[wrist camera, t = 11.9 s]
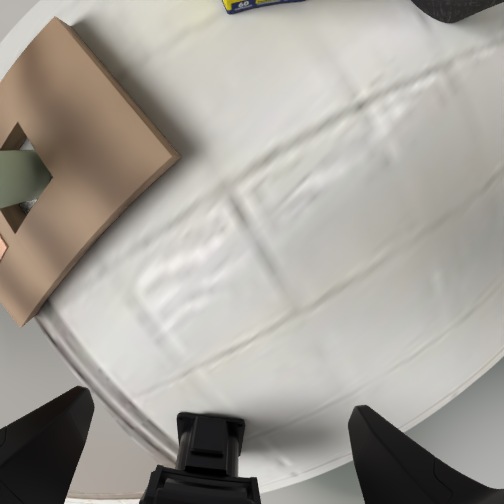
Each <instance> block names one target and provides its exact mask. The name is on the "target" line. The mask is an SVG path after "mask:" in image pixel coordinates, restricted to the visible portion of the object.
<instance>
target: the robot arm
mask: <svg viewBox="0 0 504 504" xmlns="http://www.w3.org/2000/svg"><path fill="white" fill-rule="evenodd" d="M93 413H94V403H93V399H92V396H91V393H90V391H89V389H88V388H86V387H82V386H76V387H74V388H72V389H71V390H69V391H67V392H66V393H64V394H62V395H60V396H59V397H57V398H55V399H53V400H52V401H50V402H48V403H46V404H45V405H43V406H41V407H39V408H38V409H36V410H34V411H32V412H30V413H29V414H27V415H25V416H23V417H21V418H20V419H18V420H16V421H14V422H13V423H11V424H9V425H7V426H5V427H3V428H2V429H0V504H64V502H65V499H66V496H67V493H68V490H69V487H70V484H71V481H72V478H73V475H74V472H75V470H76V467H77V464H78V462H79V459H80V456H81V453H82V451H83V448H84V446H85V442H86V439H87V435H88V431H89V427H90V423H91V420H92V416H93ZM177 429H178V439H179V451H178V456H177V462H176V467H175V469H173V468H167V467H164V466H162V465H157V467H156V470H155V471H153V472H151V476H150V480H149V484H148V487H147V489H146V490H145V492H144V494H143V496H142V498H141V499H140V501H139V504H261V500H260V494H259V488H258V482H257V477H250V478H243V477H238V457H239V456H240V453H241V448H242V442H243V436H244V430H245V421H244V420H241V419H229V418H218V417H209V416H200V415H192V414H185V413H179V414H178V415H177ZM348 430H349V436H350V442H351V448H352V455H353V461H354V465H355V468H356V472H357V476H358V479H359V483H360V487H361V490H362V494H363V497H364V501H365V504H504V489H494V488H490V487H487V486H485V485H483V484H481V483H479V482H477V481H475V480H473V479H471V478H469V477H467V476H465V475H463V474H461V473H460V472H458V471H456V470H455V469H453V468H451V467H450V466H448V465H447V464H445V463H444V462H442V461H441V460H440V459H438V458H436V457H435V456H434V455H432V454H431V453H430V452H428V451H427V450H426V449H424V448H423V447H421V446H420V445H419V444H417V443H416V442H415V441H413V440H412V439H411V438H409V437H408V436H407V435H405V434H404V433H403V432H401V431H400V430H399V429H397V428H396V427H395V426H393V425H392V424H391V423H390V422H388V421H387V420H386V419H384V418H383V417H382V416H380V415H379V414H378V413H377V412H375V411H374V410H373V409H371V408H370V407H369V406H367V405H359V406H355V407H354V409H353V412H352V414H351V417H350V419H349V422H348Z"/></svg>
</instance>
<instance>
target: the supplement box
mask: <svg viewBox="0 0 504 504" xmlns="http://www.w3.org/2000/svg"><path fill="white" fill-rule="evenodd" d="M297 1H305V0H222V2H223V4H224V7H225V9H226V11H227V13H228V14H232V13H236V12H239V11H243V10H246V9H250V8H255V7H260V6H265V5H271V4H278V3H285V2H297Z"/></svg>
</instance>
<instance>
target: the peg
mask: <svg viewBox="0 0 504 504" xmlns="http://www.w3.org/2000/svg"><path fill="white" fill-rule="evenodd" d="M50 176H51V173H50V172H49V170H48V169H47V167H46V166H45V164H44V163H43V161H42V160H41V158H40V157H39V155H38V154H37V152H36V150H11V151H0V208H4V207H7V206H11V205H15V204H18V203H22V202H26V201H30V200H34V199H37V198H39V197H40V195H41V194H42V192H43V191H44V189H45V188H46V187H47V185H48V184H49V182H50Z"/></svg>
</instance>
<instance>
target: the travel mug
mask: <svg viewBox="0 0 504 504" xmlns="http://www.w3.org/2000/svg"><path fill="white" fill-rule="evenodd" d="M411 1H412V2H413V3H414V4H415V5H416V6H417V7H419V8H420V9H421V10H422V11H423V12H425V13H426V14H428V15H429V16H431V17H433V18H434V19H437V20H439V21H441V22H445V23H454V22H457V21H459V20H462V19H464V18H466V17H469V16H471V15H473V14H475V13H478V12H480V11H482V10H485V9H487V8H490V7H492V6H495V5H497V4H500V3H502V2H504V0H411Z"/></svg>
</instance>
